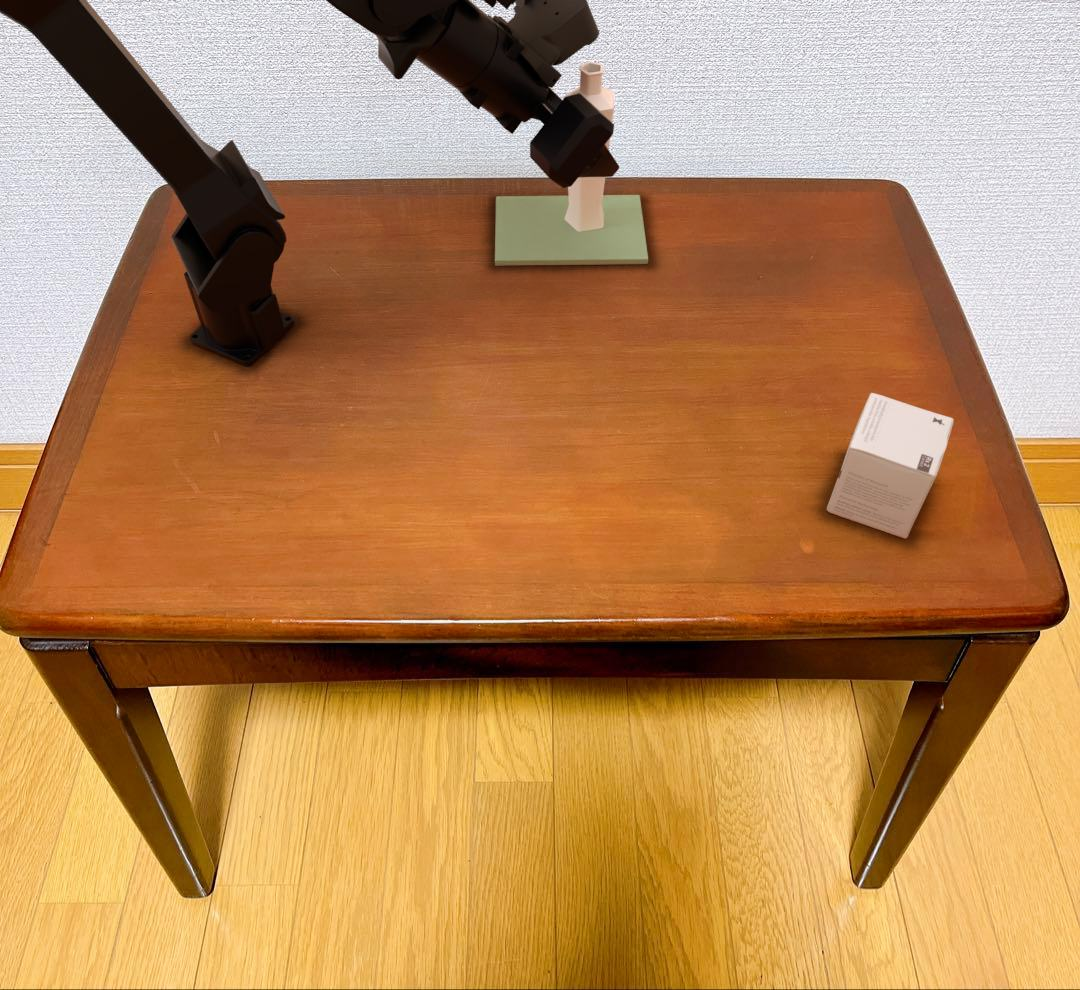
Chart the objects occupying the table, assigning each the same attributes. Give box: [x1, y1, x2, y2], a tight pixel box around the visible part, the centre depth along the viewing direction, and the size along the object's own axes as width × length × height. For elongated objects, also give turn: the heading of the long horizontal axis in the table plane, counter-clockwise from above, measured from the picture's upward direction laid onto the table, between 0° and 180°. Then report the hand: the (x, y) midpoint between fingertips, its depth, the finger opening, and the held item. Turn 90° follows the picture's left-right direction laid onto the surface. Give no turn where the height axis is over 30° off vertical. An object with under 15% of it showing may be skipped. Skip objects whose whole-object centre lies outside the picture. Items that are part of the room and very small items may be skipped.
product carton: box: [826, 392, 955, 539], centre depth 72 cm, size 6×6×7 cm
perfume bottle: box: [562, 61, 615, 232], centre depth 90 cm, size 5×4×15 cm
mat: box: [494, 194, 649, 267], centre depth 96 cm, size 14×10×1 cm
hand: (589, 145), depth 90 cm, fingers open, 9 cm apart
